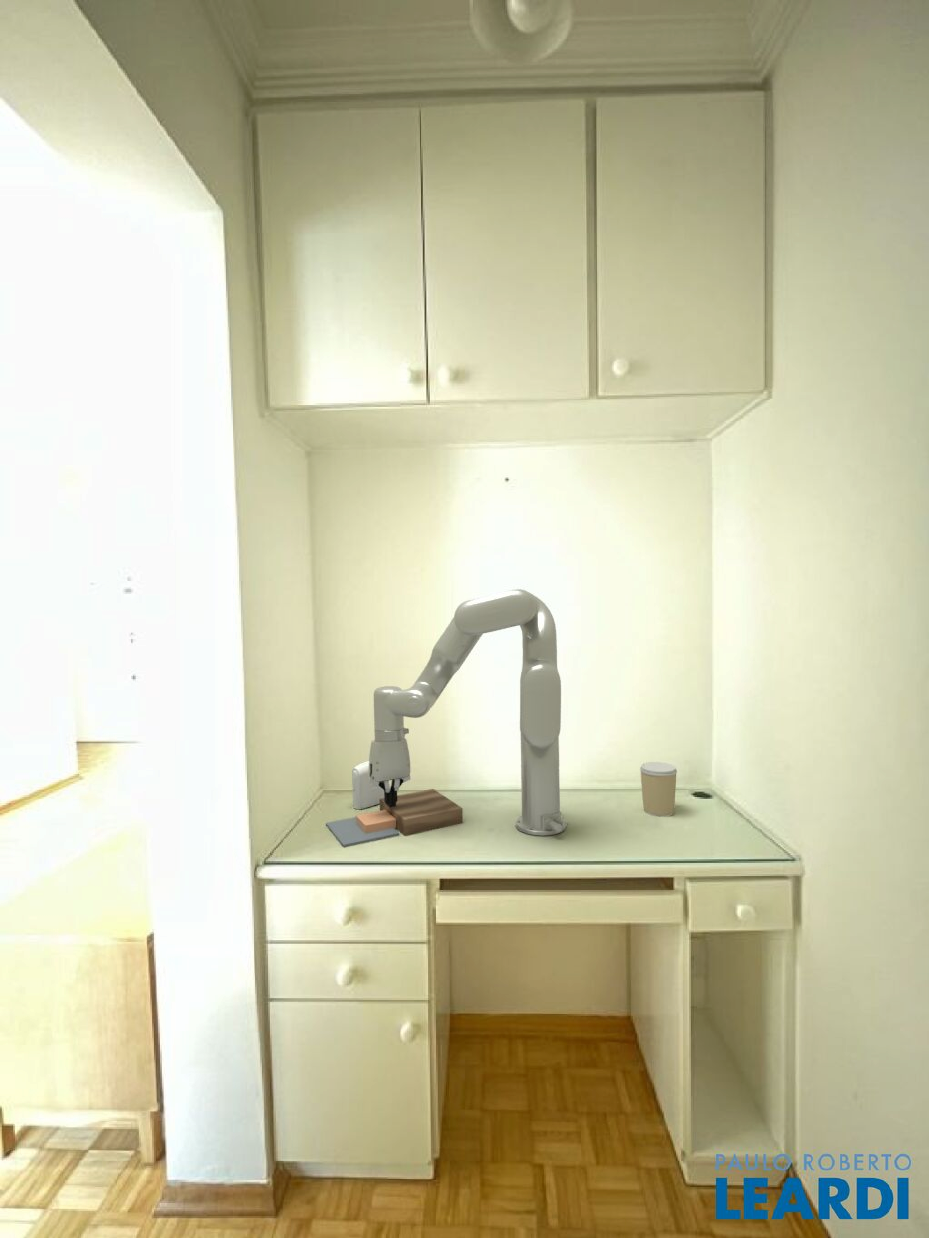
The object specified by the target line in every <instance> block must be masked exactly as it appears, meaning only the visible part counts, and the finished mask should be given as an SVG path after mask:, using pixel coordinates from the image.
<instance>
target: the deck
mask: <svg viewBox="0 0 929 1238" xmlns="http://www.w3.org/2000/svg"><path fill="white" fill-rule="evenodd" d="M381 810H386V811H387V812H388V813H390V814H391V815H392V816H393V817H394V818H395V819H396V827H395V829H397V831H398V832H399V833H401V834H402V835H403V836H404V837H406V836H409V835H410V836H411V835H415V834H420V833H424V832H428V831H432V830H433V831H435V830H438V829H442V828H449V827H452V826H458V825H461V824H463V823H464V821H463V820H464V819H463V807H462V806H460V805H458V804H457V803H455V802H454V801H453V800H451V799H450V798H448V797H447V796H445V795H443V794H442V793H440V792H439V791H438V790H436V789H434V788H431V789H425V790H419V791H415V792H409V793H403V794H399V795H398V794H397V802H396V807H391V808H390V807H388V806H387V805H386V804H385V802H384V798H380V803H379V811H381Z"/></svg>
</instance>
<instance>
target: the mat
mask: <svg viewBox="0 0 929 1238" xmlns="http://www.w3.org/2000/svg"><path fill="white" fill-rule="evenodd" d="M325 826H326V827H327V828H328V830H329V831H330V832H331V833H332V835H333V836H334V837H335V839H336V840H337V841H338V842H339V843H340V845H341V846H342V848H347V847H351V846H356V845H357V846H358V845H361V844H365V843H369V842H370V841H371V842H375V841H380V840H384V839H388V838H394V837H397V836H398V837H399V836H400V831H399V830H398V829H397V828H390V829H385V830H380V831H375V832H371V833H365V832H364V831H363V830H362V829H361V828H360V827H359V826H358V825H357V823H356V816H354V817H349V818H343V819H339V820H334V821H329V822H328V821H327V822H326V823H325ZM396 829H397V830H396Z"/></svg>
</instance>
